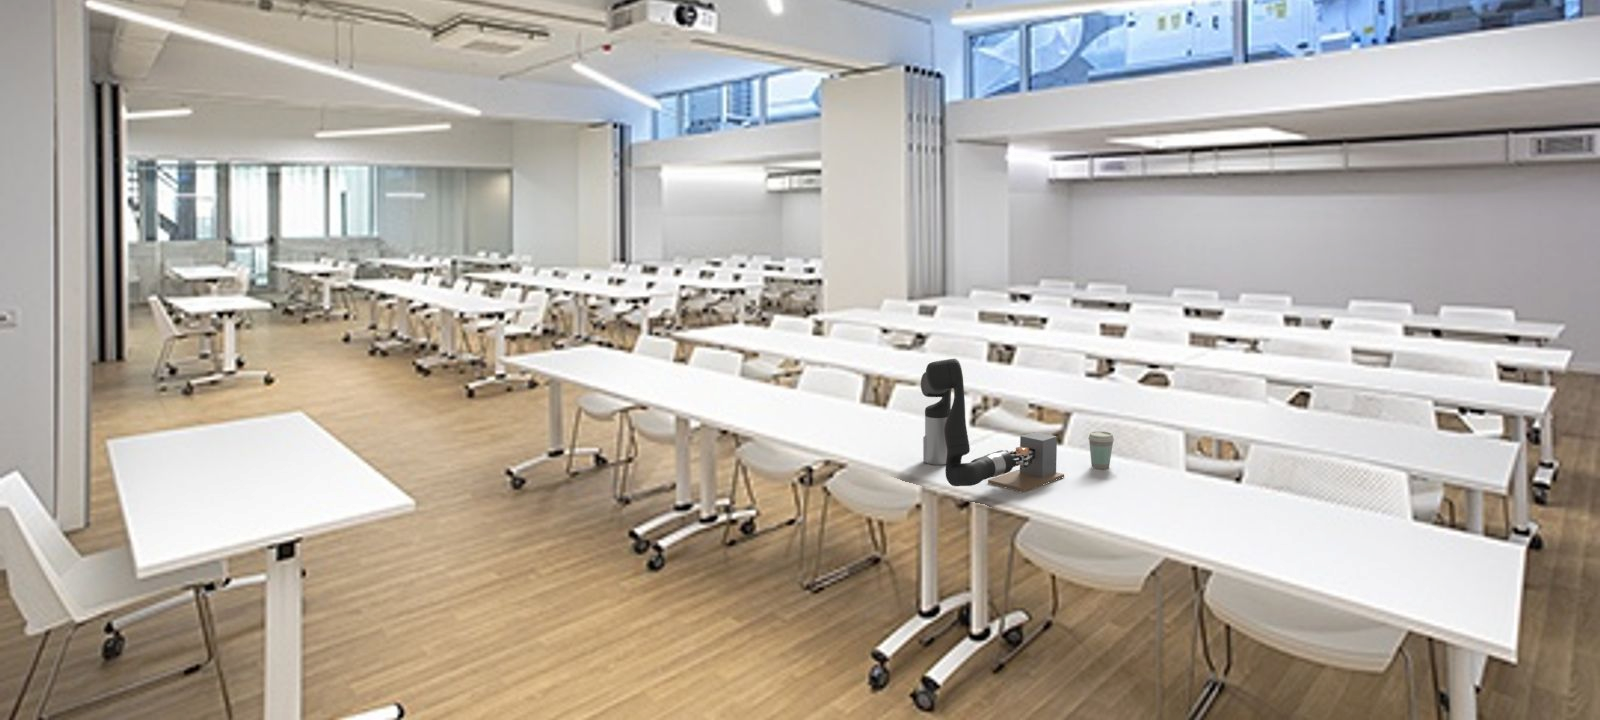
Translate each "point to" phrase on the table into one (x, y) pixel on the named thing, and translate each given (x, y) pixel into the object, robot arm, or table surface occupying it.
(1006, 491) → the table surface
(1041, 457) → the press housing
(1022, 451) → the plunger
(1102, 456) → the coffee cup
